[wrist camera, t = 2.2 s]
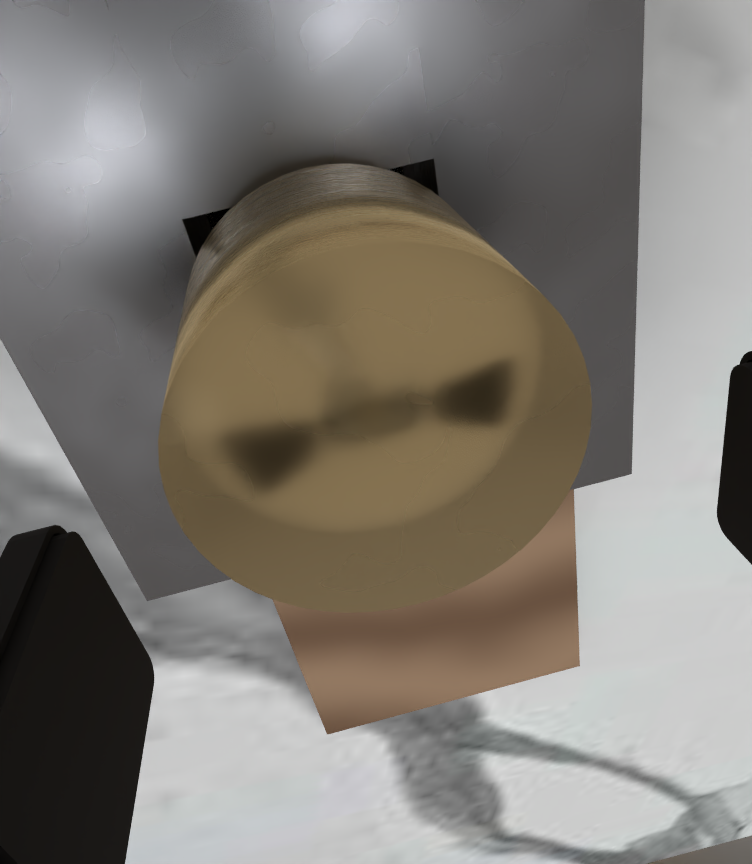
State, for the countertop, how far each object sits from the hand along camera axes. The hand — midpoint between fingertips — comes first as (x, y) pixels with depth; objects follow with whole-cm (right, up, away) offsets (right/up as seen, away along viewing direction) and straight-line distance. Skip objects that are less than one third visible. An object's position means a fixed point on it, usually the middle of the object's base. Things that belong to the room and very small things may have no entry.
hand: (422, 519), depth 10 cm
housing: (-2, +6, +9) cm, 11 cm away
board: (+1, -5, +16) cm, 17 cm away
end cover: (-2, +6, +9) cm, 11 cm away
